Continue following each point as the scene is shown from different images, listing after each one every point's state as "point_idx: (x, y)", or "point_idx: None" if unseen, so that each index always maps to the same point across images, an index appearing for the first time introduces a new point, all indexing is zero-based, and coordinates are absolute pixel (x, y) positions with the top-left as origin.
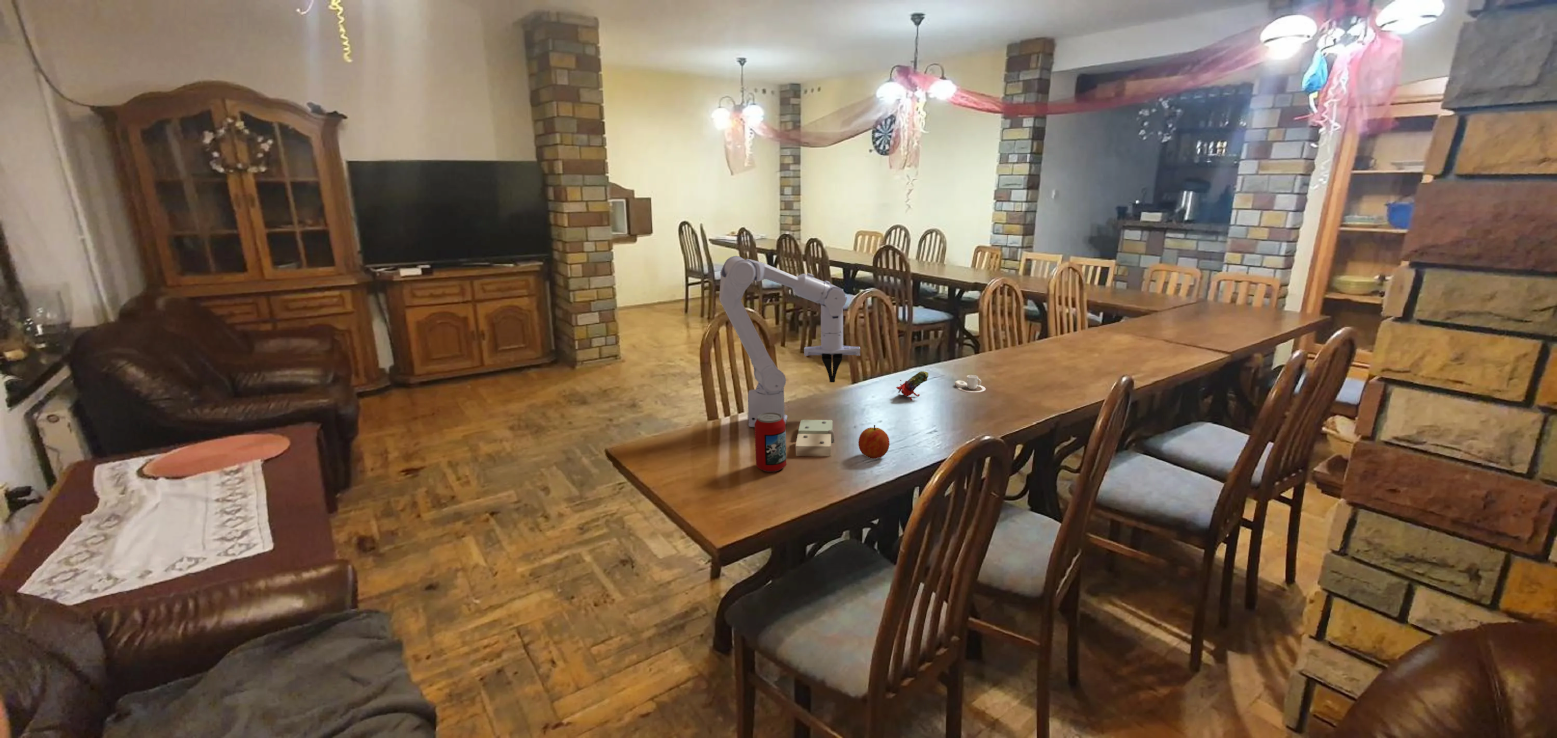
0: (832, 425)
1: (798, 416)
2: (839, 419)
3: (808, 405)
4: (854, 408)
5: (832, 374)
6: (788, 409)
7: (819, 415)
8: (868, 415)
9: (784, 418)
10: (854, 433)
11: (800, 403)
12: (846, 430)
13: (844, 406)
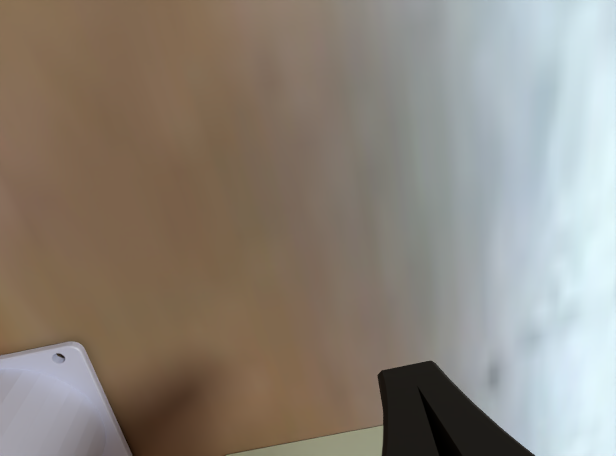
0: None
1: (145, 310)
2: (402, 300)
3: (128, 89)
4: (484, 84)
5: (432, 429)
6: (19, 207)
7: (269, 267)
8: (574, 200)
9: (99, 430)
10: None
11: (44, 53)
12: None
13: (408, 54)
